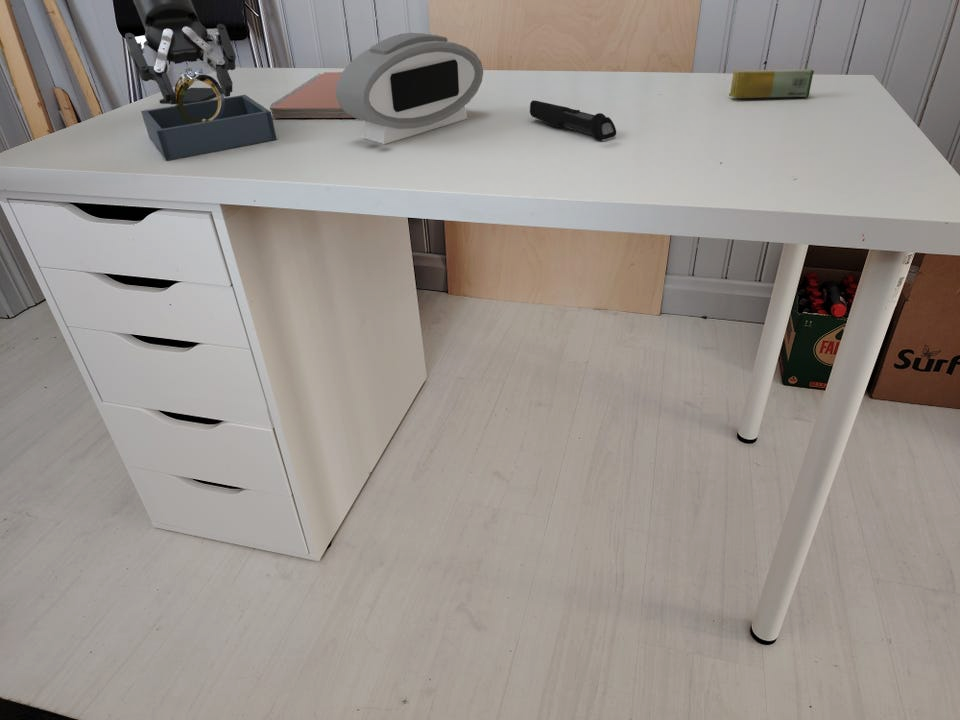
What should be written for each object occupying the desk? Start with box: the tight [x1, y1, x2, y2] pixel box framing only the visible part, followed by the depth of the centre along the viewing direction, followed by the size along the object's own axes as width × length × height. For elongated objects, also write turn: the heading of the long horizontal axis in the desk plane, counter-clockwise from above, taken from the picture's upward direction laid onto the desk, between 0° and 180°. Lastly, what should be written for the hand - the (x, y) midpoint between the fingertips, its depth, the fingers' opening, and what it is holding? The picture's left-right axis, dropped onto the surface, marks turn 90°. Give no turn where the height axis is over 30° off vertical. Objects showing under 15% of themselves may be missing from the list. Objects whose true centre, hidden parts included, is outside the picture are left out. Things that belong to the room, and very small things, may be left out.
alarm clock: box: [336, 32, 484, 145], centre depth 94 cm, size 23×6×13 cm, turn 136°
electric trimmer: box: [529, 99, 617, 142], centre depth 93 cm, size 4×16×3 cm, turn 39°
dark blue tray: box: [140, 94, 277, 162], centre depth 96 cm, size 16×14×4 cm
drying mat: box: [158, 87, 217, 104], centre depth 120 cm, size 10×8×1 cm
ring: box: [173, 67, 226, 124], centre depth 94 cm, size 7×3×8 cm, turn 132°
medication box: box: [728, 68, 815, 99], centre depth 103 cm, size 12×3×4 cm, turn 89°
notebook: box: [269, 71, 356, 119], centre depth 114 cm, size 27×17×2 cm, turn 173°
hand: (201, 97), depth 92 cm, fingers closed on ring, 7 cm apart
